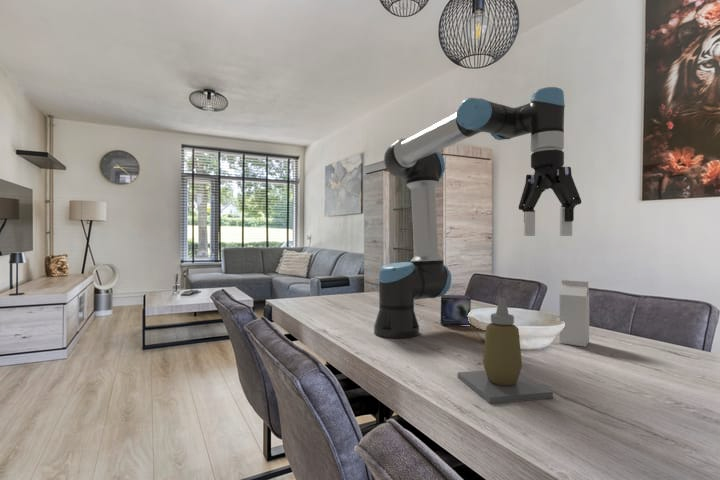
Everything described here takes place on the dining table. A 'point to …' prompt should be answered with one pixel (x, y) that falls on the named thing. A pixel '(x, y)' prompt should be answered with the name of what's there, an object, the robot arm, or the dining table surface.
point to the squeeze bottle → (502, 348)
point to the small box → (455, 309)
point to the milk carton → (574, 313)
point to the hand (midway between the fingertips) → (546, 236)
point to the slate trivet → (504, 388)
